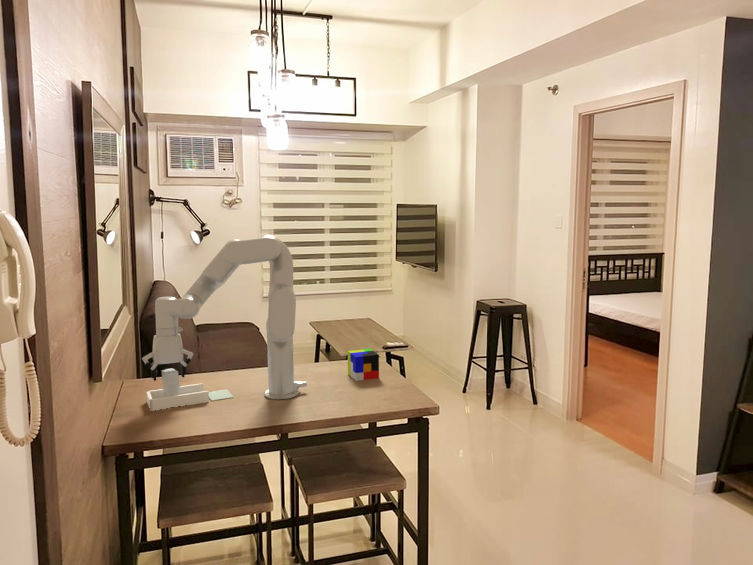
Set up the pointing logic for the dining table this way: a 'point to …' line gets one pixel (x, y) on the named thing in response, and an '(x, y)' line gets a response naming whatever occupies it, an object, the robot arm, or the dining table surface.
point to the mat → (220, 395)
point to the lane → (177, 397)
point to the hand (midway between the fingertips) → (168, 378)
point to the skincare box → (170, 382)
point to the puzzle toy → (363, 364)
